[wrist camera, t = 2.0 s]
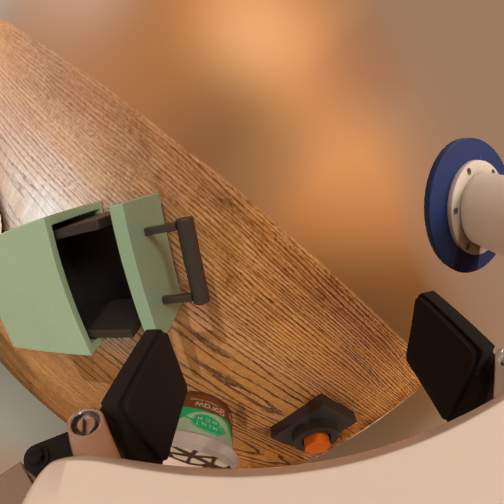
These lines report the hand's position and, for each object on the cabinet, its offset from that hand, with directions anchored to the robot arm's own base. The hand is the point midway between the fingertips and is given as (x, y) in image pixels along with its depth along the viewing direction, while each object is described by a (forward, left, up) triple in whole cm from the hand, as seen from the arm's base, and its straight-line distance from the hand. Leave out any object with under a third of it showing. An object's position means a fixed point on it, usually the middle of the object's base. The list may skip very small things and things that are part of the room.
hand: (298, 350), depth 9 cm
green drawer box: (+24, 0, -18) cm, 30 cm away
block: (-3, +29, -18) cm, 34 cm away
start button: (-3, +29, -14) cm, 33 cm away
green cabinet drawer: (+14, 0, -17) cm, 22 cm away
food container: (+12, +22, -18) cm, 31 cm away
